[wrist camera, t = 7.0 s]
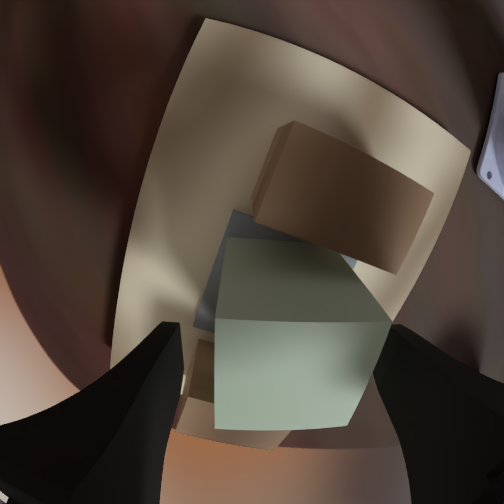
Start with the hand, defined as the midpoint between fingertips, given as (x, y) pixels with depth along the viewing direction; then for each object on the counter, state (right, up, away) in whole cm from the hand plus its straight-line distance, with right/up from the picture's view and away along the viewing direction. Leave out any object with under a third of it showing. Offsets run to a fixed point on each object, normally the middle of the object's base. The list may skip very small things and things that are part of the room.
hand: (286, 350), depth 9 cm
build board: (0, +3, +5) cm, 6 cm away
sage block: (0, +2, +4) cm, 4 cm away
